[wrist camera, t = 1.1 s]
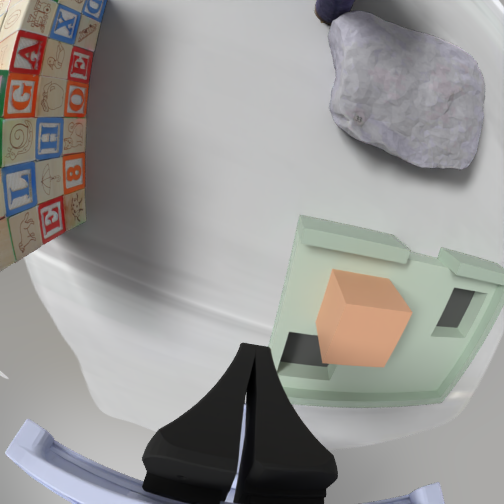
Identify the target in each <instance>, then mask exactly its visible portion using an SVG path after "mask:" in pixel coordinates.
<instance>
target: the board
mask: <svg viewBox="0 0 504 504" xmlns="http://www.w3.org/2000/svg"><path fill="white" fill-rule="evenodd" d="M410 251H411V250H410V249H409V248H408V247H406V246H405V245H404V244H403V243H402V242H401V241H400V240H399V239H397V238H396V237H395V236H394V235H391V234H386V233H382V232H378V231H374V230H369V229H365V228H360V227H356V226H351V225H347V224H342V223H337V222H333V221H328V220H323V219H318V218H313V217H308V216H303V215H300V216H299V221H298V226H297V230H296V235H295V239H294V244H293V248H292V253H291V257H290V262H289V266H288V270H287V275H286V279H285V283H284V287H283V291H282V295H281V300H280V304H279V308H278V312H277V316H276V320H275V324H274V328H273V331H272V335H271V339H270V343H269V348H270V349H271V353H272V358H273V361H274V365H275V368H276V371H277V374H278V376H279V379H280V382H281V384H282V386H283V389H284V391H285V393H286V395H287V397H288V399H289V401H290V403H291V404H297V405H308V406H323V407H349V408H377V407H402V406H416V405H427V404H436V403H442V402H443V400H444V399H445V398H446V397H447V395H448V394H449V393H450V391H451V390H452V389H453V387H454V386H455V385H456V383H457V382H458V381H459V379H460V378H461V376H462V375H463V374H464V372H465V371H466V369H467V368H468V366H469V365H470V363H471V362H472V360H473V359H474V357H475V356H476V354H477V352H478V351H479V349H480V348H481V346H482V344H483V343H484V341H485V339H486V337H487V336H488V334H489V332H490V330H491V329H492V327H493V325H494V323H495V321H496V319H497V317H498V315H499V313H500V311H501V309H502V307H503V305H504V268H503V267H501V266H500V265H499V264H497V263H494V262H491V261H488V260H484V259H481V258H477V257H474V256H471V255H467V254H464V253H460V252H456V251H453V250H449V249H446V248H442V247H441V250H440V253H439V255H438V258H434V257H430V256H426V255H421V254H417V253H413V252H410ZM332 269H337V270H343V271H348V272H354V273H359V274H365V275H371V276H376V277H382V278H388V279H389V280H390V281H391V282H392V284H393V285H394V286H395V288H396V289H397V291H398V292H399V293H400V295H401V296H402V298H403V299H404V301H405V302H406V303H407V305H408V306H409V308H410V309H411V311H412V312H413V313H412V315H411V317H410V319H409V321H408V323H407V325H406V327H405V329H404V331H403V333H402V335H401V337H400V339H399V341H398V343H397V345H396V347H395V349H394V350H393V352H392V354H391V356H390V358H389V359H388V361H387V363H386V365H385V366H384V367H365V366H350V365H337V364H326V363H322V358H321V352H320V346H319V340H318V334H317V328H316V323H315V322H316V319H317V316H318V313H319V310H320V307H321V304H322V301H323V298H324V294H325V291H326V288H327V285H328V282H329V278H330V275H331V272H332Z"/></svg>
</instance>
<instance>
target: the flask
mask: <svg viewBox="0 0 504 504" xmlns="http://www.w3.org/2000/svg"><path fill="white" fill-rule="evenodd" d="M354 1H355V0H317V2H316V5H315V10H314V12H315V14H316V16H317V17H318V18H319V19H320V21H321V23H326V24H328V25H331V24H332V21H333V20H335V19H337V18H338V17H339V16H341V15H342V14H344V13H347V12H350V9H351V8H352V6H353V3H354Z"/></svg>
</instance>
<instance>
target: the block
mask: <svg viewBox="0 0 504 504" xmlns="http://www.w3.org/2000/svg"><path fill="white" fill-rule="evenodd" d="M412 313H413V312H412V311H411V309H410V308H409V306H408V305H407V303H406V302H405V301H404V299H403V298H402V296H401V295H400V293H399V292H398V291H397V289H396V288H395V286H394V285H393V284H392V282H391V281H390V280H389V279H388V278H382V277H376V276H371V275H365V274H359V273H354V272H348V271H343V270H337V269H332V272H331V275H330V278H329V282H328V285H327V288H326V291H325V294H324V298H323V301H322V304H321V307H320V310H319V313H318V316H317V319H316V322H315V323H316V328H317V334H318V340H319V346H320V352H321V358H322V363H326V364H337V365H350V366H365V367H384V366H385V365H386V363H387V361H388V359H389V358H390V356H391V354H392V352H393V350H394V349H395V347H396V345H397V343H398V341H399V339H400V337H401V335H402V333H403V331H404V329H405V327H406V325H407V323H408V321H409V319H410V317H411V315H412Z"/></svg>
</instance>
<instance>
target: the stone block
mask: <svg viewBox="0 0 504 504" xmlns="http://www.w3.org/2000/svg"><path fill="white" fill-rule="evenodd" d="M328 38H329V45H330V48H331V54H332V57H333V64H334V68H335V69H336V78H335V81H334V86H333V88H332V91H331V101H330V106H329V108H330V111H331V113H332V116H333V120H334V121H335V123H336V124H337V125H338V126H339V128H341V129H343V130H344V131H345V132H346V133H348V134H349V135H350V136H352V137H353V138H356V139H357V140H359V141H361V142H364V143H367V144H371V145H373V146H376V147H378V148H380V149H383V150H385V151H386V152H387V153H389V154H391V155H394V156H397V157H399V158H401V159H403V160H405V161H406V162H409V163H411V164H413V165H416V166H418V167H421V168H436V167H438V168H441V169H445V168H454V169H459V170H461V169H464V168H467V167H468V166H469V165H470V163H471V161H472V160H473V158H474V156H475V154H476V152H477V147H478V141H479V138H480V134H481V128H482V123H483V119H484V113H483V103H484V100H485V83H484V78H483V75H482V72H481V70H480V69H479V67H478V66H477V65H478V63H477V61H476V60H474V58H473V57H472V56H471V55H470V54H469V53H467V52H465V51H464V49H462V48H460V47H458V46H456V45H454V44H452V43H450V42H447V41H445V40H443V39H441V38H438V37H435V36H432V35H429V34H426V33H422V32H417V31H414V30H410V29H407V28H404V27H401V26H399V25H397V24H394V23H392V22H387V21H385V20H383V19H381V18H379V17H377V16H375V15H374V14H372V13H369V12H364V11H359V10H358V11H352V12H347V13H344V14H342V15H341V16H339V17H338V18H337V19H335V20H333V21H332V24H331V27H330V32H329V34H328Z"/></svg>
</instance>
